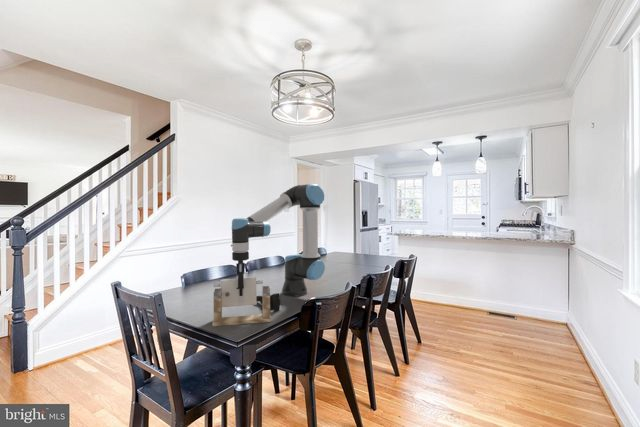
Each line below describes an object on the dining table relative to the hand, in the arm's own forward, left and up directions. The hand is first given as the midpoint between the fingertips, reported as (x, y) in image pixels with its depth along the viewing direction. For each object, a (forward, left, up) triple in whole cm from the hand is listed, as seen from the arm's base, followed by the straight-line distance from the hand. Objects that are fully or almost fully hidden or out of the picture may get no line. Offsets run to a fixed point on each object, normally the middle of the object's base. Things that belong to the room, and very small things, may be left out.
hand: (241, 300), depth 145 cm
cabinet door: (+1, 0, -2) cm, 2 cm away
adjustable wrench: (-11, -15, -8) cm, 20 cm away
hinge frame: (-1, +7, -7) cm, 10 cm away
